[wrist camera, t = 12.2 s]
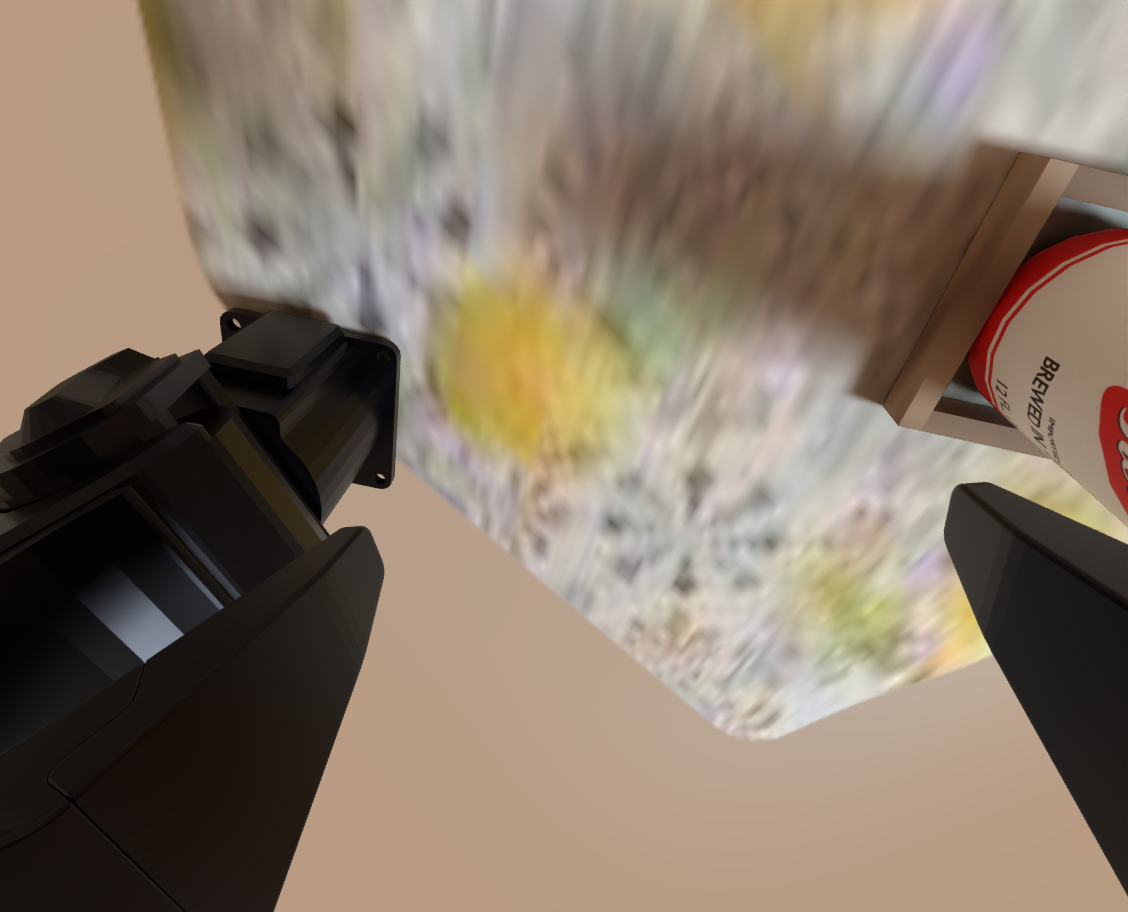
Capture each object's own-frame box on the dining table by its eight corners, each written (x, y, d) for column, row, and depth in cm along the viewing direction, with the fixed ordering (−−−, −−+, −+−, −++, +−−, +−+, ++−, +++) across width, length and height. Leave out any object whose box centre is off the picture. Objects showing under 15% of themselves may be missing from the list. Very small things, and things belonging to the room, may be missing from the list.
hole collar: (1104, 454, 22) (1133, 477, 21) (882, 405, 22) (898, 426, 21) (1296, 216, 18) (1348, 226, 16) (1020, 152, 17) (1051, 158, 16)
